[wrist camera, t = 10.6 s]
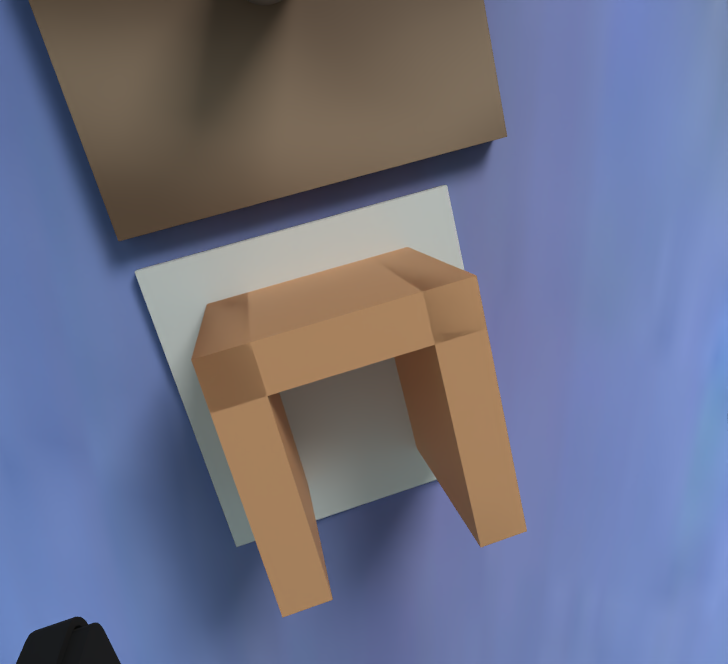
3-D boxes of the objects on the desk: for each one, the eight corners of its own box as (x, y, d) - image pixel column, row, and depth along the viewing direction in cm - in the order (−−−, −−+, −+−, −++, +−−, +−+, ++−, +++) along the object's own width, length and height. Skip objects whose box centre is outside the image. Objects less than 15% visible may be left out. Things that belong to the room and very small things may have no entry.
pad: (136, 269, 18) (134, 271, 18) (443, 185, 20) (447, 185, 19) (236, 540, 21) (236, 547, 21) (498, 452, 22) (502, 457, 22)
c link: (207, 303, 19) (191, 359, 13) (407, 246, 19) (476, 275, 14) (271, 495, 21) (282, 617, 15) (451, 436, 21) (527, 531, 16)
